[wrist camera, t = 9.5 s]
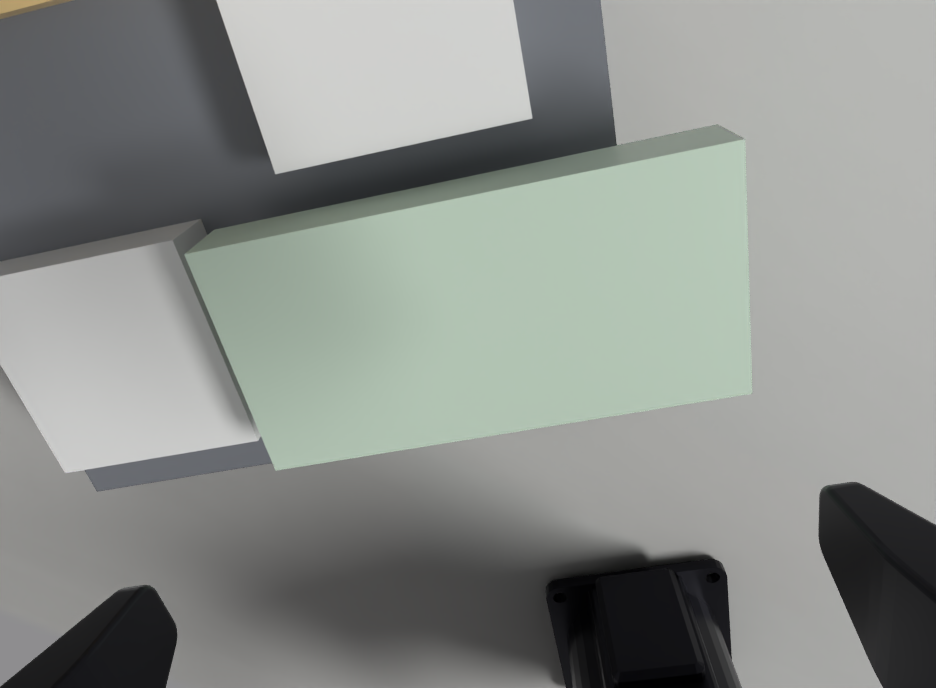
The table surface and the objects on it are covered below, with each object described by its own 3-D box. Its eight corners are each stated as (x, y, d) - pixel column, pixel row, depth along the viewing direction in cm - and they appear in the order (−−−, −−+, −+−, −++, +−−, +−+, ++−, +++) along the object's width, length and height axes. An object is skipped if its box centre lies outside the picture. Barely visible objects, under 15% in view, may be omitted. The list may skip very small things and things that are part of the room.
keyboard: (637, 382, 21) (658, 436, 18) (114, 469, 23) (66, 529, 21) (521, -619, 12) (530, -799, 9) (-326, -325, 14) (-516, -401, 11)
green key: (714, 337, 19) (752, 393, 16) (304, 408, 20) (275, 470, 17) (701, 116, 16) (745, 139, 13) (230, 215, 17) (183, 254, 15)
